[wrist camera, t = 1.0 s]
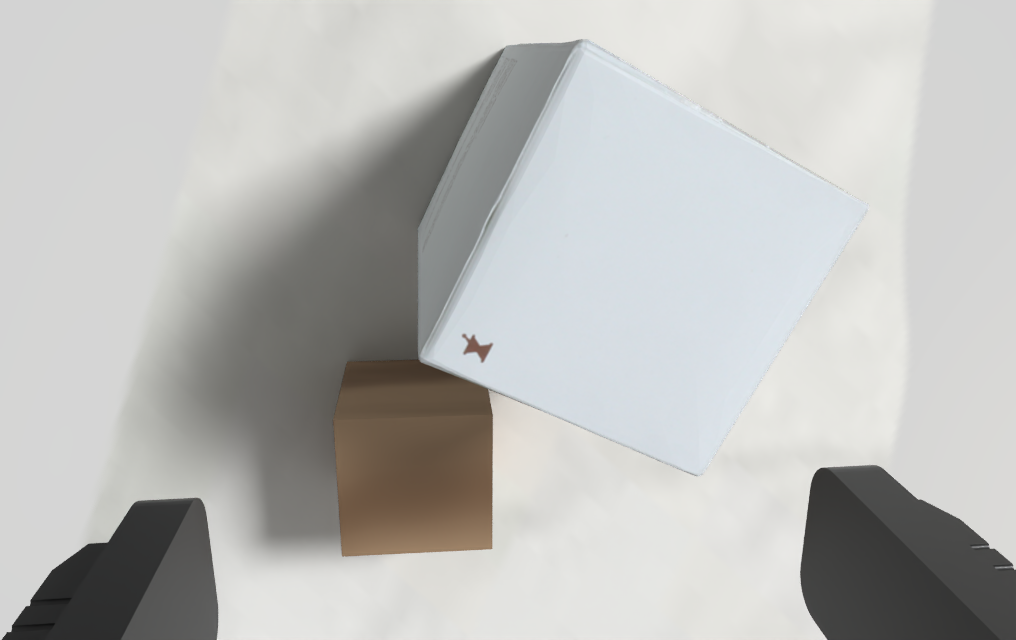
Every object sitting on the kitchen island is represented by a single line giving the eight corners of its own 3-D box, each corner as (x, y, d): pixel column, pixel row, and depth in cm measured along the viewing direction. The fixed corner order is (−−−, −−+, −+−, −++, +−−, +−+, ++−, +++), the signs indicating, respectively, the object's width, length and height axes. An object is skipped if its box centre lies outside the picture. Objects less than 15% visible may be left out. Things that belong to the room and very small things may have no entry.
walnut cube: (347, 360, 30) (333, 419, 26) (482, 357, 31) (492, 414, 26) (354, 480, 32) (342, 556, 27) (482, 474, 32) (492, 549, 28)
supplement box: (592, 317, 31) (699, 494, 19) (411, 230, 29) (403, 364, 17) (694, 137, 29) (885, 207, 17) (508, 33, 27) (575, 29, 15)
